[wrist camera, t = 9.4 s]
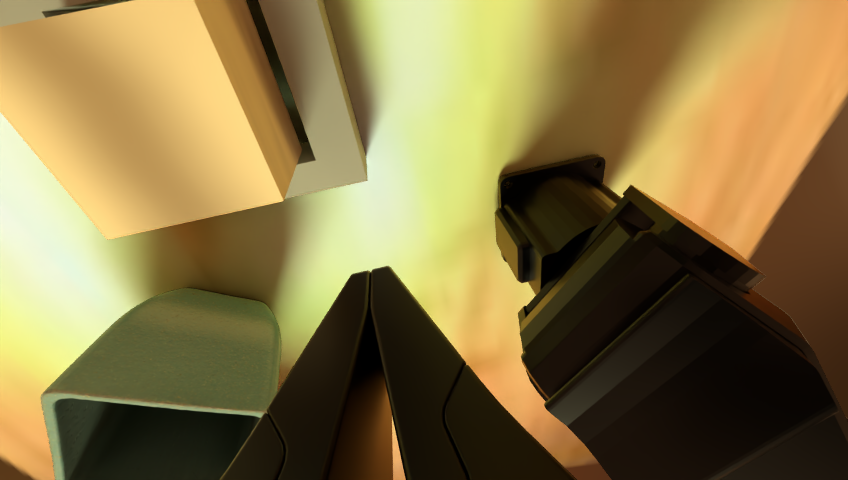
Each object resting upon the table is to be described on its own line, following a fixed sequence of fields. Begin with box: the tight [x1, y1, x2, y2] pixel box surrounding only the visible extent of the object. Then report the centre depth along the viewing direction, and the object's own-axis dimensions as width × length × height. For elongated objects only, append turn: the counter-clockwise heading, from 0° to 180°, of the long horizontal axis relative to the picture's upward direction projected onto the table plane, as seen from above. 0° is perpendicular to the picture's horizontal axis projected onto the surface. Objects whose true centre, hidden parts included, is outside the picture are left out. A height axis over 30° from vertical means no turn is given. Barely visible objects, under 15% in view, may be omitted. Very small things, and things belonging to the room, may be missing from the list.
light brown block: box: [0, 0, 302, 240], centre depth 12 cm, size 6×6×5 cm
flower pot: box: [41, 288, 281, 480], centre depth 21 cm, size 9×9×9 cm
